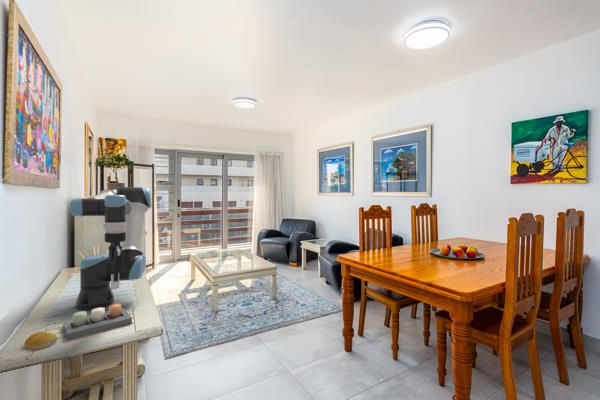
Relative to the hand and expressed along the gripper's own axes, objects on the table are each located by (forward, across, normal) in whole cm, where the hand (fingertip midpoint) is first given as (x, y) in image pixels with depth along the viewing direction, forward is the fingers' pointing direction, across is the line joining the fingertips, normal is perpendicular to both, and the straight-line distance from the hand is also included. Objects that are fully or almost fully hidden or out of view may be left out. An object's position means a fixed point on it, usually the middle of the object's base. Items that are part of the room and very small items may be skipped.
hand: (115, 288), depth 124 cm
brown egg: (+11, 0, 0) cm, 11 cm away
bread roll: (+14, +4, -24) cm, 28 cm away
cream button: (+11, 0, -6) cm, 13 cm away
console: (+14, 0, -6) cm, 15 cm away
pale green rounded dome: (+11, 0, -12) cm, 16 cm away
